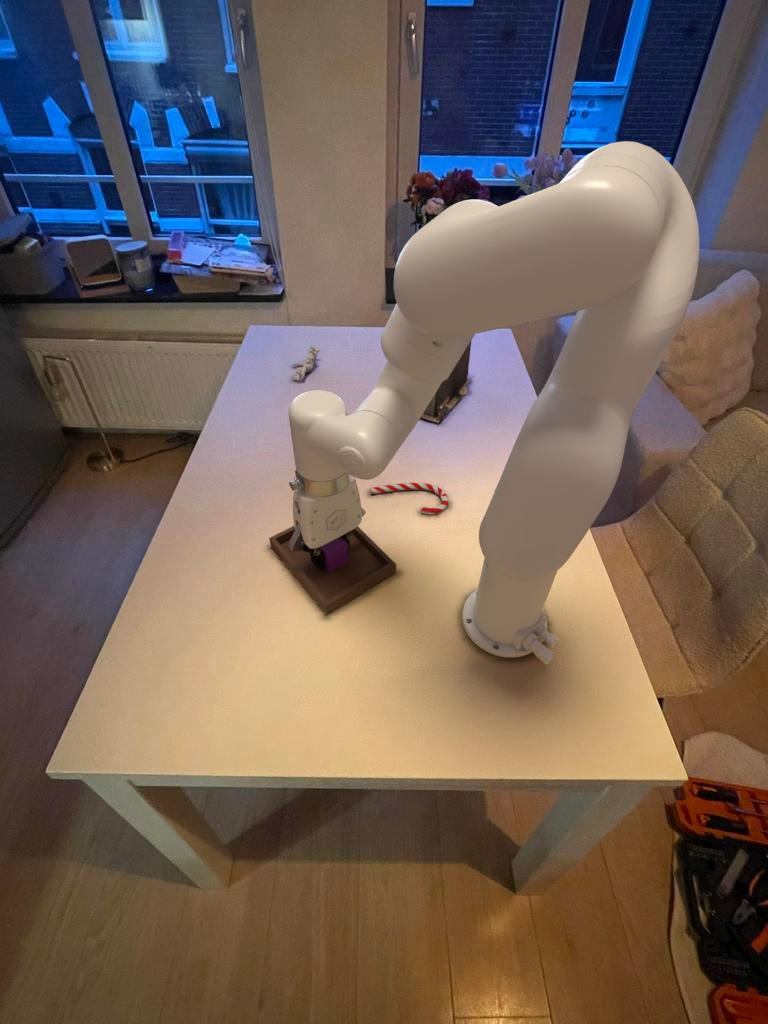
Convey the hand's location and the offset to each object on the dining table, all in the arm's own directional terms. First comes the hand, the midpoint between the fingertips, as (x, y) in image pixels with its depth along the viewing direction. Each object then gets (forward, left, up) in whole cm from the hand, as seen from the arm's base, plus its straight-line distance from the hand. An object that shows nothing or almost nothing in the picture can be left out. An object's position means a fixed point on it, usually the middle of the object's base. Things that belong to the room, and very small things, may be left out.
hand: (330, 557), depth 88 cm
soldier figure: (+57, -30, -1) cm, 64 cm away
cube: (0, 0, 0) cm, 0 cm away
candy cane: (+4, -20, -1) cm, 20 cm away
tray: (0, 0, -1) cm, 1 cm away
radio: (+27, -49, -1) cm, 56 cm away
